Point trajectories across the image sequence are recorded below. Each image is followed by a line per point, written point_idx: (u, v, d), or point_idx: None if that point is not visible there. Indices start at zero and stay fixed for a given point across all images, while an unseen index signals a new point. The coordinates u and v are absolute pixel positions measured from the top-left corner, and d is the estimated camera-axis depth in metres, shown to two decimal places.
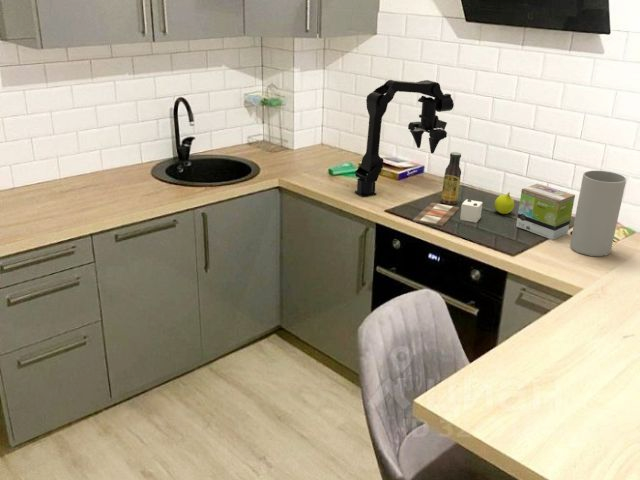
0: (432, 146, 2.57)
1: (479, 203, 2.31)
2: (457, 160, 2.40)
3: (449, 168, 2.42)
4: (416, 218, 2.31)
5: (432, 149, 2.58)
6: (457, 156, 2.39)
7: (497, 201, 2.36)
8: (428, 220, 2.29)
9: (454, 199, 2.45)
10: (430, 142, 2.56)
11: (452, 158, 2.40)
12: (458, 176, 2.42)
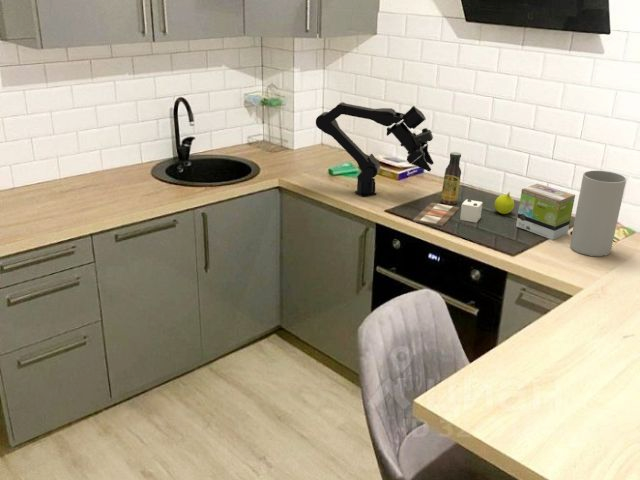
0: (422, 166, 2.40)
1: (479, 203, 2.31)
2: (457, 160, 2.40)
3: (449, 168, 2.42)
4: (416, 218, 2.31)
5: (425, 168, 2.41)
6: (457, 156, 2.39)
7: (497, 201, 2.36)
8: (428, 220, 2.29)
9: (454, 199, 2.45)
10: None
11: (452, 158, 2.40)
12: (458, 176, 2.42)
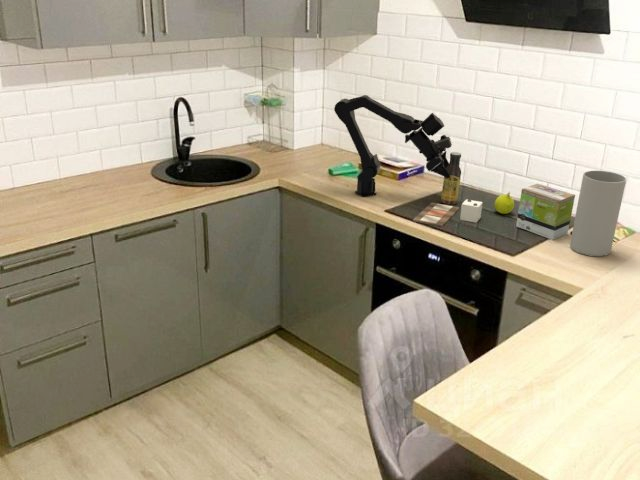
0: (441, 173, 2.39)
1: (479, 203, 2.31)
2: (457, 160, 2.40)
3: (449, 168, 2.42)
4: (416, 218, 2.31)
5: (444, 175, 2.40)
6: (457, 156, 2.39)
7: (497, 201, 2.36)
8: (428, 220, 2.29)
9: (454, 199, 2.45)
10: None
11: (452, 158, 2.40)
12: (458, 176, 2.42)
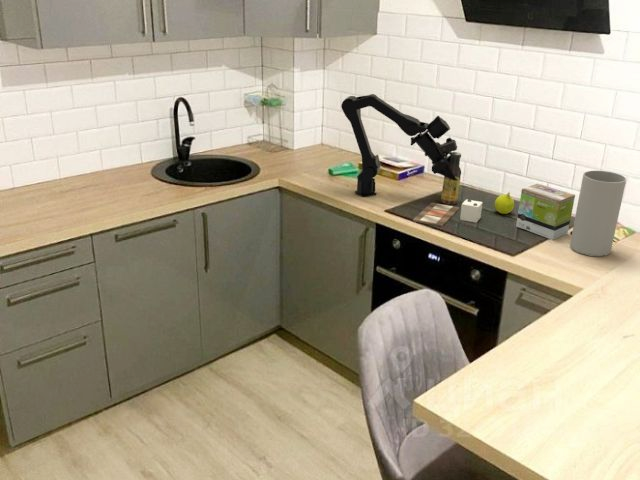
0: (446, 175, 2.40)
1: (479, 203, 2.31)
2: (457, 160, 2.40)
3: None
4: (416, 218, 2.31)
5: (450, 177, 2.41)
6: (457, 156, 2.39)
7: (497, 201, 2.36)
8: (428, 220, 2.29)
9: (454, 199, 2.45)
10: None
11: (452, 158, 2.40)
12: (458, 176, 2.42)
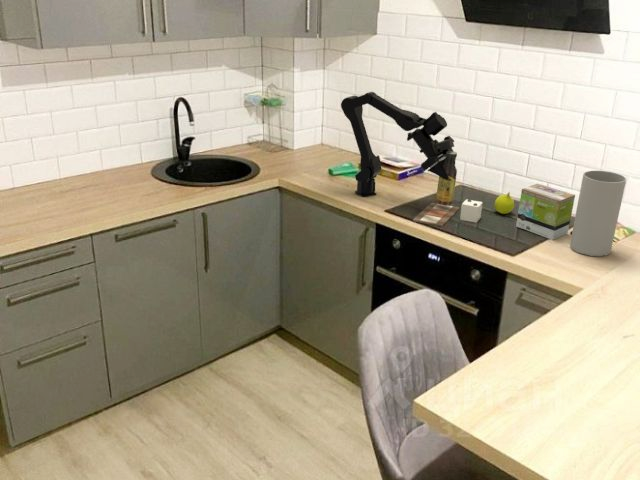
0: (439, 174, 2.33)
1: (479, 203, 2.31)
2: (451, 159, 2.31)
3: (443, 167, 2.33)
4: (416, 218, 2.31)
5: (442, 176, 2.33)
6: (452, 155, 2.30)
7: (497, 201, 2.36)
8: (428, 220, 2.29)
9: (447, 200, 2.37)
10: None
11: (446, 157, 2.32)
12: (451, 176, 2.33)
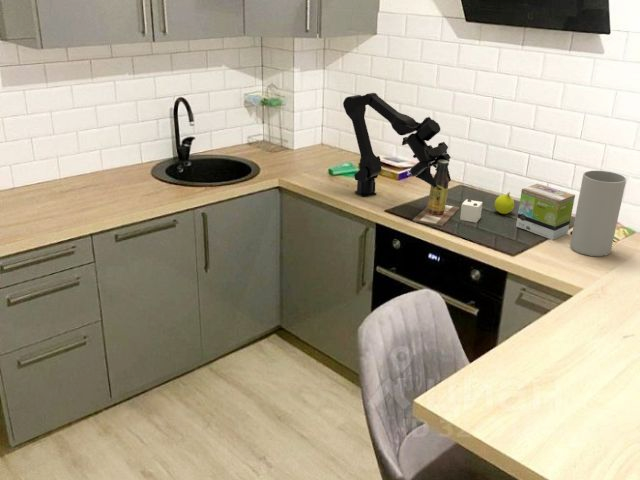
0: (427, 181, 2.28)
1: (479, 203, 2.31)
2: (442, 168, 2.27)
3: (434, 176, 2.30)
4: (416, 218, 2.31)
5: (431, 183, 2.27)
6: (442, 164, 2.26)
7: (497, 201, 2.36)
8: (428, 220, 2.29)
9: (438, 209, 2.32)
10: None
11: (438, 165, 2.28)
12: (442, 185, 2.28)
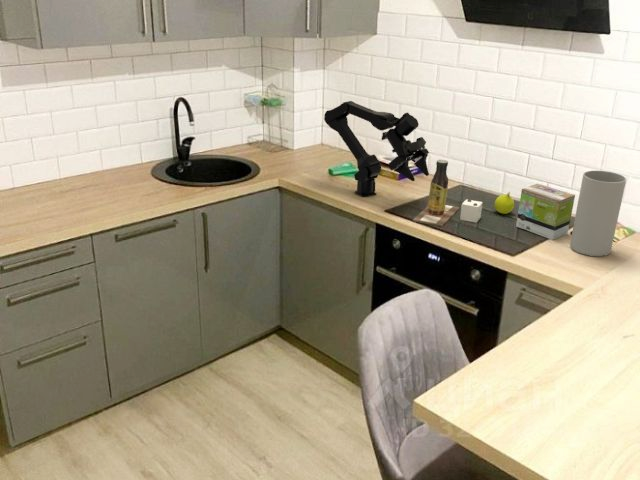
0: (405, 175, 2.34)
1: (479, 203, 2.31)
2: (441, 168, 2.27)
3: (434, 176, 2.30)
4: (416, 218, 2.31)
5: (409, 177, 2.33)
6: (441, 164, 2.26)
7: (497, 201, 2.36)
8: (428, 220, 2.29)
9: (438, 209, 2.32)
10: None
11: (437, 165, 2.28)
12: (441, 185, 2.29)
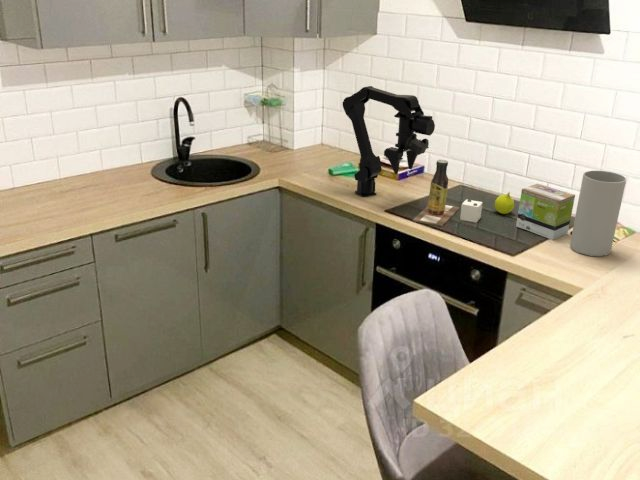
0: (392, 165, 2.37)
1: (479, 203, 2.31)
2: (441, 168, 2.27)
3: (434, 176, 2.30)
4: (416, 218, 2.31)
5: (393, 169, 2.37)
6: (441, 164, 2.26)
7: (497, 201, 2.36)
8: (428, 220, 2.29)
9: (438, 209, 2.32)
10: None
11: (437, 165, 2.28)
12: (441, 185, 2.29)
